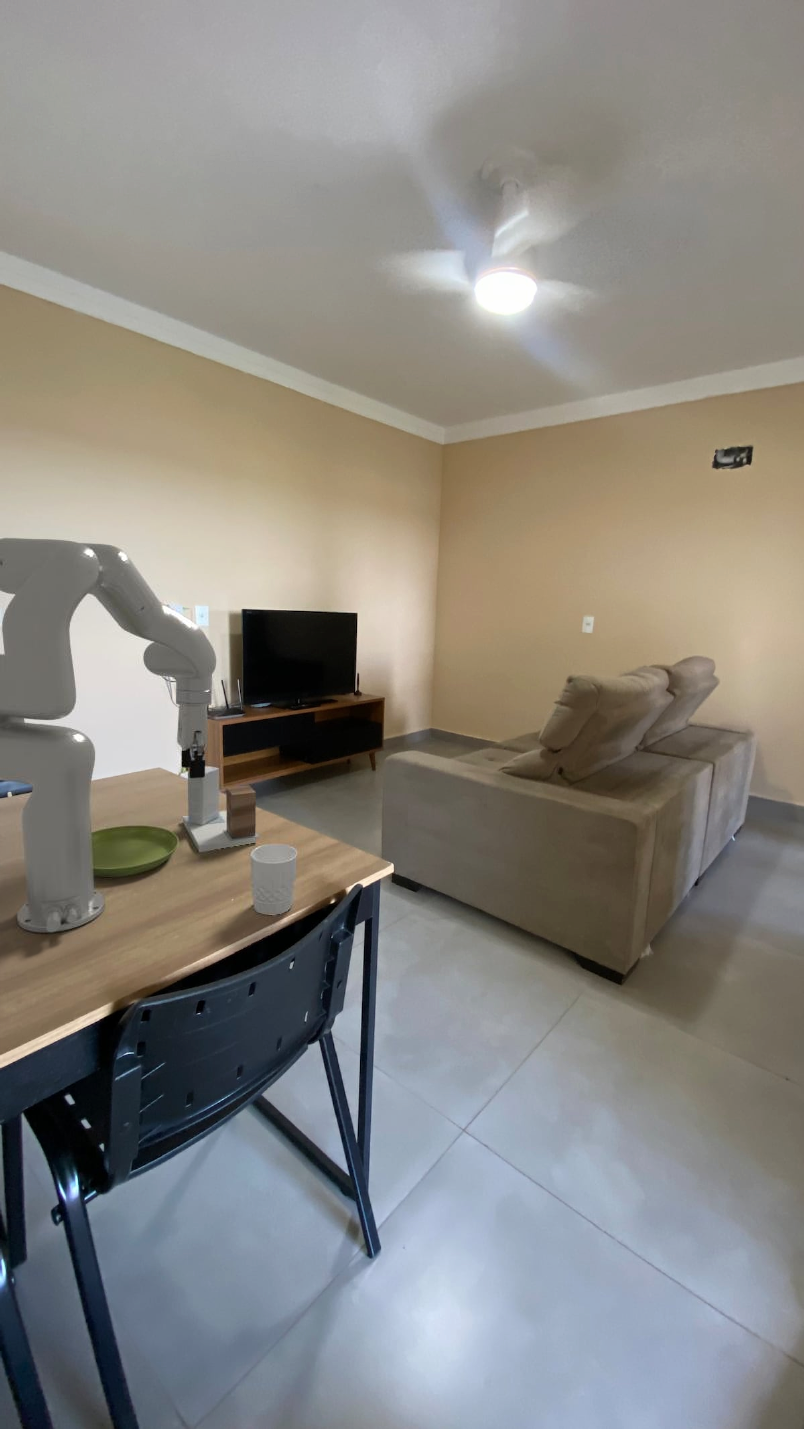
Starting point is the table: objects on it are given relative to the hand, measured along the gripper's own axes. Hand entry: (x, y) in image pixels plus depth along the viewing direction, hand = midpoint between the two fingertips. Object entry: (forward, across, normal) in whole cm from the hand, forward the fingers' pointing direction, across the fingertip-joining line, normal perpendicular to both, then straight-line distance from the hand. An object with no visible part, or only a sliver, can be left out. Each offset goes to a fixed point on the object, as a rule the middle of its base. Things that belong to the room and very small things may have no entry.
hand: (192, 772), depth 134 cm
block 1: (+7, +11, +8) cm, 15 cm away
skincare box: (+12, +1, +3) cm, 12 cm away
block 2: (+12, +11, +8) cm, 18 cm away
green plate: (+14, +11, -15) cm, 24 cm away
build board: (+13, +5, +5) cm, 15 cm away
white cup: (+15, +41, +6) cm, 44 cm away
